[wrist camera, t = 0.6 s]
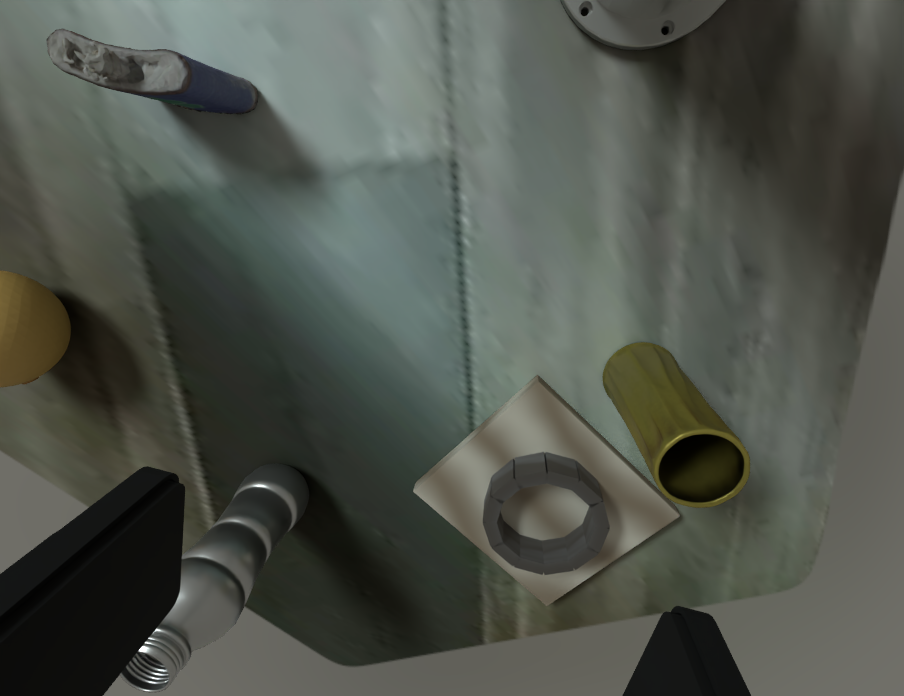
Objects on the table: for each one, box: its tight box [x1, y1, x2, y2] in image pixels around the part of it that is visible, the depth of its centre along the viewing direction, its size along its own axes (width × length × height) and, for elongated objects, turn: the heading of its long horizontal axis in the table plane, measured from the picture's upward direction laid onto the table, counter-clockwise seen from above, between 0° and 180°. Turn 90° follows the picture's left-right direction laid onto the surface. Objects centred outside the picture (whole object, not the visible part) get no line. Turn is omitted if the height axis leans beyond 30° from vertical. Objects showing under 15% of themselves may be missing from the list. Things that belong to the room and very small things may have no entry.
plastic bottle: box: [120, 464, 309, 692], centre depth 39 cm, size 6×7×20 cm
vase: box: [603, 342, 750, 508], centre depth 34 cm, size 6×6×14 cm
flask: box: [47, 29, 258, 114], centre depth 33 cm, size 9×3×11 cm, turn 79°
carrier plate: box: [413, 375, 680, 606], centre depth 44 cm, size 16×18×4 cm
